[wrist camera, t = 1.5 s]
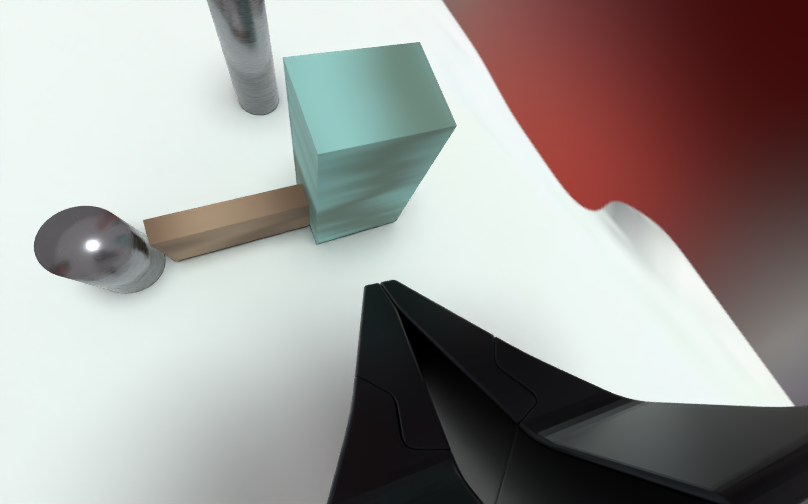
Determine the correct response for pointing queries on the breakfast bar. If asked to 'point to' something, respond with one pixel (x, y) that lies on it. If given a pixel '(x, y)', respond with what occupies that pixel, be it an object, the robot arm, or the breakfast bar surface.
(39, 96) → the breakfast bar surface
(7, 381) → the breakfast bar surface
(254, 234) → the gate
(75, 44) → the breakfast bar surface
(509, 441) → the robot arm
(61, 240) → the hinge post
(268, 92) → the post
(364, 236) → the breakfast bar surface
